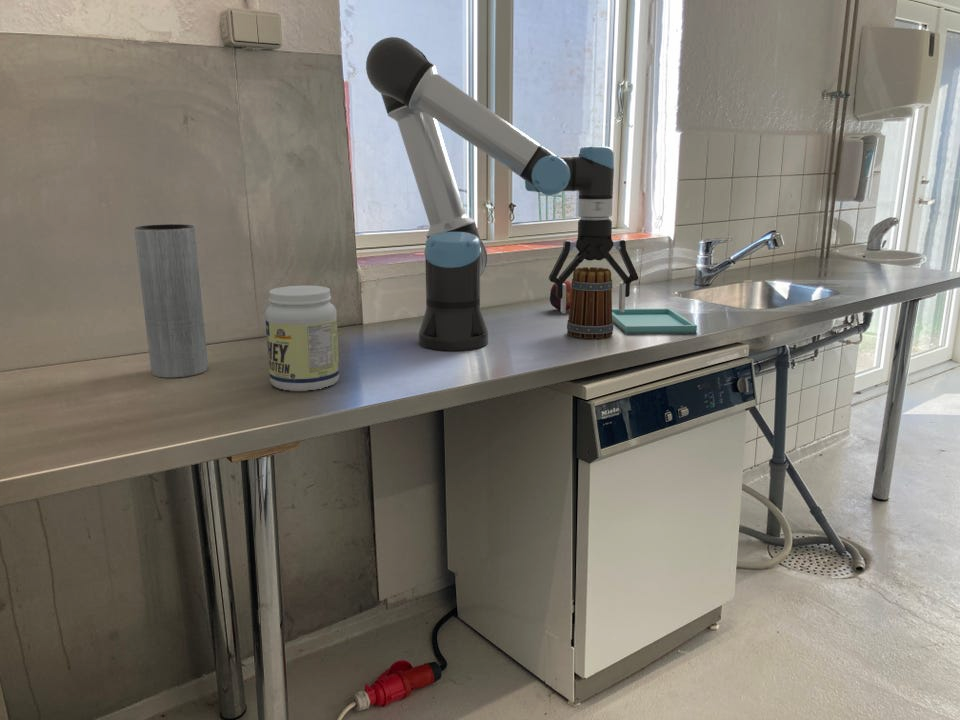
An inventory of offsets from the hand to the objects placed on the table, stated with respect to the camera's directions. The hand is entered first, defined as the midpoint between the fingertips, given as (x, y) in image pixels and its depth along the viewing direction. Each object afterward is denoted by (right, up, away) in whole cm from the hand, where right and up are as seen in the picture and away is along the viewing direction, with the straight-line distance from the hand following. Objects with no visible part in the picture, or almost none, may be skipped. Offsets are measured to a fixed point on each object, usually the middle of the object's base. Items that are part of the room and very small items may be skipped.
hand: (592, 311), depth 170 cm
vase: (-83, -13, -31) cm, 89 cm away
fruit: (-4, +2, +26) cm, 27 cm away
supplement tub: (-57, -16, -38) cm, 71 cm away
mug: (0, -5, +1) cm, 5 cm away
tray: (+15, -2, +10) cm, 18 cm away
